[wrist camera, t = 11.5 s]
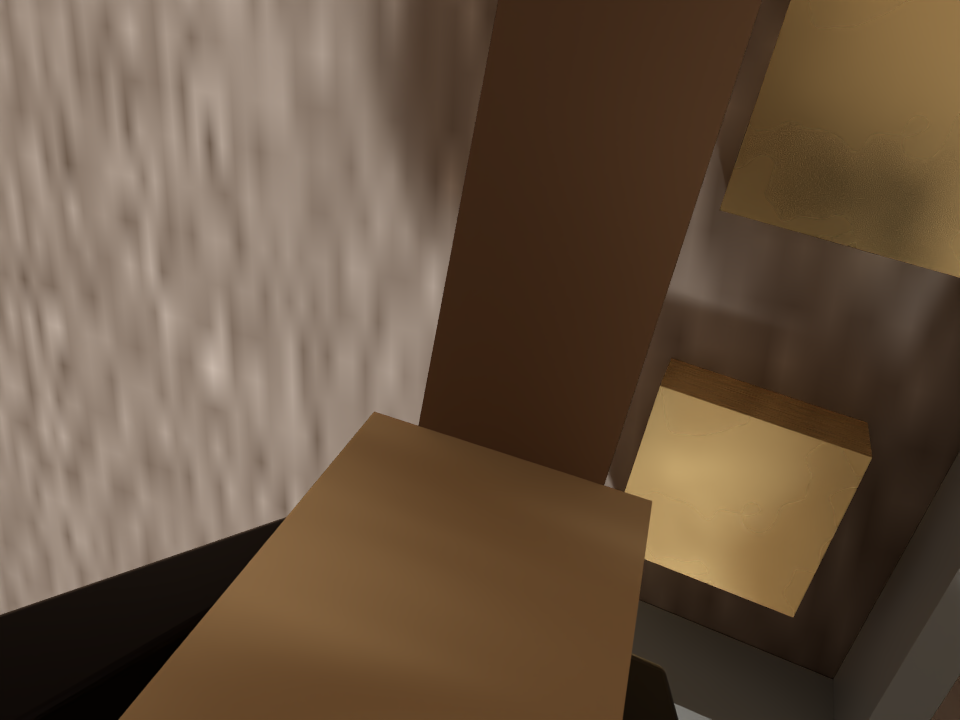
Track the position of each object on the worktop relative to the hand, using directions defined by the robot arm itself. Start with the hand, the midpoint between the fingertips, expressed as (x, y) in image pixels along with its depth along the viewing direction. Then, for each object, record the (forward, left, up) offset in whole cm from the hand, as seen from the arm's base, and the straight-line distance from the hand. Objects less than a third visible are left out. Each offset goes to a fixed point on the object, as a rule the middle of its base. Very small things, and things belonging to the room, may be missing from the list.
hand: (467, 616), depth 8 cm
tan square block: (-3, +4, -12) cm, 13 cm away
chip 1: (-3, -5, -12) cm, 14 cm away
